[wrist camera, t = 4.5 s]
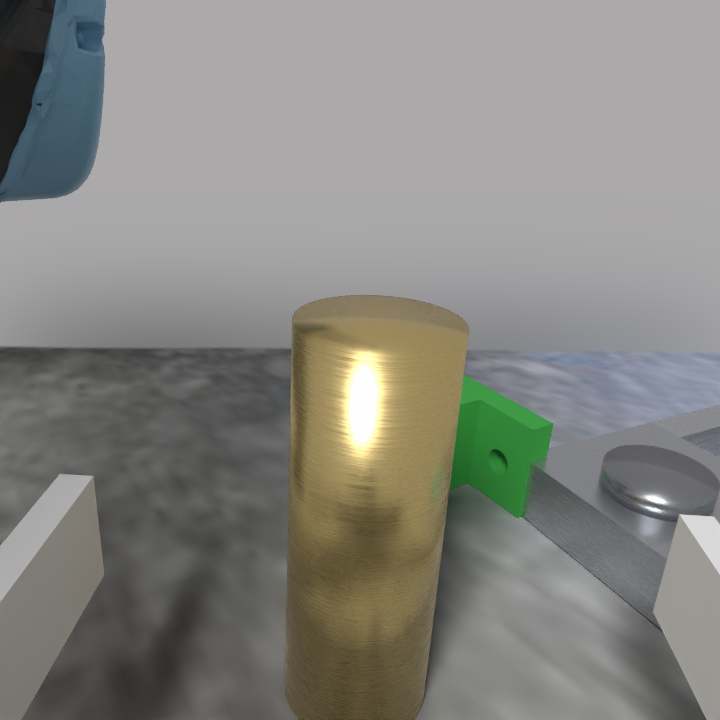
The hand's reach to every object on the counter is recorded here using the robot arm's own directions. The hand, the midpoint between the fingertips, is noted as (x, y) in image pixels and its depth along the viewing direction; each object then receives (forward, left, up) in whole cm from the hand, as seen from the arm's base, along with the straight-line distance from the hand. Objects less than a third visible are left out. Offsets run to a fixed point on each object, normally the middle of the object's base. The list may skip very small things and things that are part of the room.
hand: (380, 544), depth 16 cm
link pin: (-2, +1, -6) cm, 7 cm away
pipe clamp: (-12, +9, -7) cm, 17 cm away
